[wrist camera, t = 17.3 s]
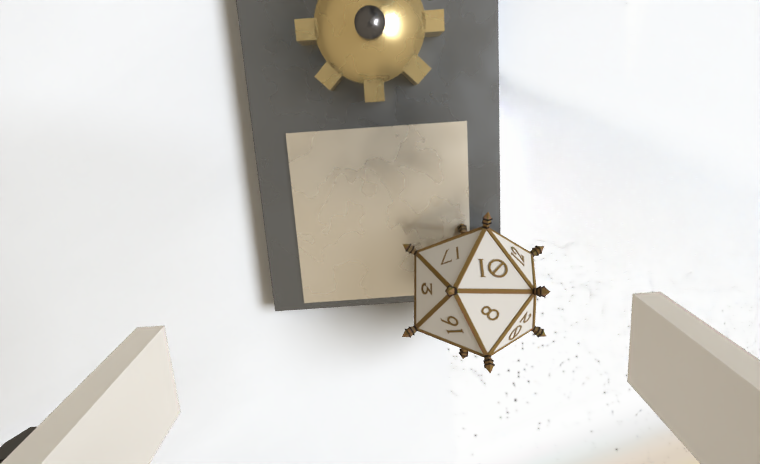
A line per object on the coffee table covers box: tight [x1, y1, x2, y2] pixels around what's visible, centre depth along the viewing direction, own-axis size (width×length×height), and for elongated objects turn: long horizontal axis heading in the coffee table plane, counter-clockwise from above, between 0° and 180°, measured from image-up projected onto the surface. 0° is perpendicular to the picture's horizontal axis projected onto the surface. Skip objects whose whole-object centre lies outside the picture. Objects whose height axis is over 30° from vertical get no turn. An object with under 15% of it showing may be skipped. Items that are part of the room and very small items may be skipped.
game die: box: [402, 212, 550, 373], centre depth 30 cm, size 9×8×10 cm
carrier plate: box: [236, 0, 500, 311], centre depth 31 cm, size 22×15×5 cm
